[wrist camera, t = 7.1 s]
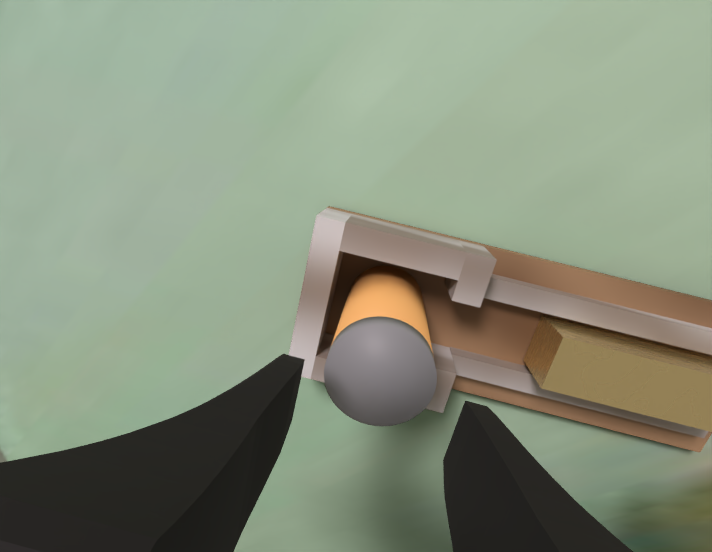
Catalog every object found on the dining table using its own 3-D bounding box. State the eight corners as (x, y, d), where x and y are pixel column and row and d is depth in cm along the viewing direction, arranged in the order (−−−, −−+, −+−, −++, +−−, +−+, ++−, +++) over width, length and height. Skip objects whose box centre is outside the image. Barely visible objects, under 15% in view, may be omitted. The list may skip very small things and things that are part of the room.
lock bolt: (685, 401, 19) (726, 435, 17) (523, 359, 19) (541, 388, 17) (710, 356, 18) (757, 386, 16) (542, 314, 19) (563, 337, 16)
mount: (691, 444, 20) (741, 492, 17) (300, 343, 21) (284, 374, 18) (769, 314, 18) (841, 345, 15) (329, 206, 19) (316, 215, 16)
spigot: (412, 341, 20) (420, 436, 13) (342, 325, 20) (315, 412, 13) (430, 274, 19) (450, 341, 12) (356, 258, 19) (335, 315, 12)
